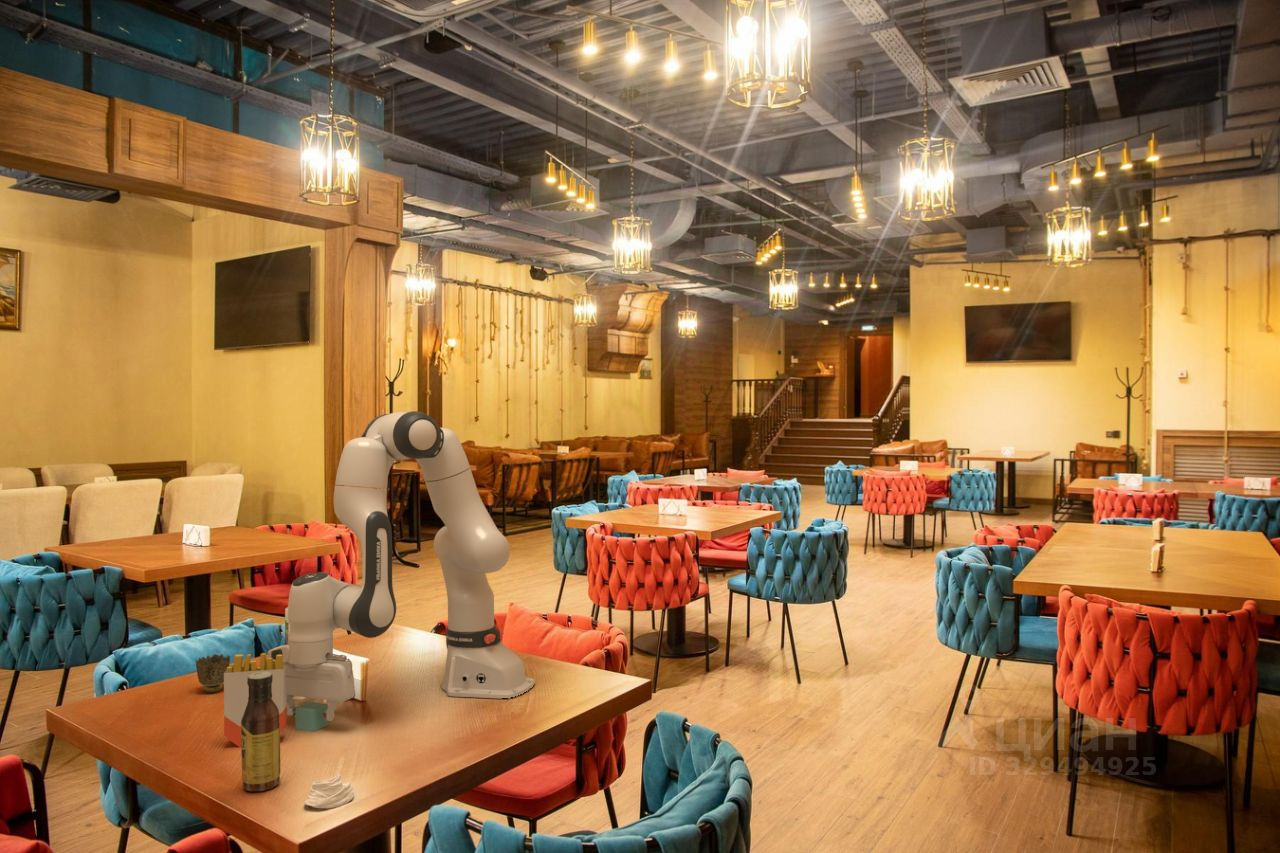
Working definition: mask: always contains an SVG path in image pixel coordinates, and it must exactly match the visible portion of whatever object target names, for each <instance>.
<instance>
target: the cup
mask: <svg viewBox="0 0 1280 853" xmlns="http://www.w3.org/2000/svg"><path fill="white" fill-rule="evenodd" d="M230 662H231V655H230V654H228V655H226V656H225V657H224V654H222V653H221V654H220V655H219V654H216V653H215V654H213V655H211V656H210V655H207V656H206V657H205V656H202V657H199V658H198V659H197V658H196V660H195V667H196V674H197V680H198V683H200V685H202V686H204V692H205V693H207V694H214V693H217V692H218V693H219V692H220V691H221V690H222V688H223V686H222V685H223V684H224V672H225V671H226V670H227V667H230V664H231V663H230Z"/></svg>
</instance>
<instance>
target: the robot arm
mask: <svg viewBox="0 0 1280 853" xmlns="http://www.w3.org/2000/svg"><path fill="white" fill-rule="evenodd" d="M410 459H413V460H415V461H416V462H417V463H418V465H419V468H420V469H421V472H422V476H423V479H424V482H425V486H426V488H427V493H428V495H429V498H430V501H431V502H430V503H431V504H432V508H433V510H434V512H435V514H436V515H437V516H438V518H440V519H441V521H442V522H443V524H444V526H442V527H441V528H440V529H439V530H438V531H437V533H436V534H435V536H434V538H433V549H434V552H435V555H436V556H437V558H438V560H439V563H440V566H441V570H442V575H443V580H444V584H445V589H446V596H447V597H446V599H447V627H446V629H445V630H446V631H445V639H446V640H445V644H446V649H447V652H446V660H445V661H446V662H445V669H444V673H443V674H444V675H443V678H442V681H441V682H442V683H441V685H440V687H441V689H442V690H444V691H445V692H446V695H447V696H448V697H456V698H457V697H459V698H460V697H461V698H481V699H482V698H484V699H502V698H508V699H512V698H511V697H513V698H516V697H519V696H521V695H520V694H522V695H523V693H524V692H526V691H527V692H529V691H530V690H531V689H530V688H532V687H533V685H534V683H536V682H535V679H534V678H532V677H528V676H526V670H525V664H524V661H523V659H522V657H520V656H519V655H517V654H516V653H515V652H514V651H512V650H511V649H510V648H508V646H507V645H506V644H504V643H503V642H502V639H501V636H502V635H504V634H505V633H504V632H505V629H501V630H498V629H497V627H496V625H495V594H494V591H493V589H492V587H491V586H490V584H489V580H488V578H487V574H491V573H496V572H498V571H500V570H502V569H503V567H505V566H506V565H507V563H508V561H509V558H510V555H511V554H510V553H511V547H510V546H511V545H510V543H509V541H508V539H507V538H506V536H504V534H502V533H501V531H500V530H499V529H498V527H497V526H496V523H495V521H494V520H493V518H492V517H491V515H490V513H489V512H488V510H487V507H486V506H485V504H484V502H483V501H482V500H483V499H482V498H481V495H480V494H479V490H478V488H477V484H476V481H475V478H474V476H473V475H474V474H473V473H472V469H471V466H470V463H469V460H468V457H467V454H466V452H465V449H464V447H463V445H462V443H461V442H460V440H459V437H458V436H457V434H456V433H455V431H454V430H452V429H450V428H447V427H440V426H439V424H438V423H437V422H436V421H435V419H434V418H433V417H431V416H430V415H428V414H426V413H425V412H422V411H417V410H416V411H404V410H403V411H401V410H400V411H395V412H391V413H384V414H381V415H378V416H377V417H374V419H372V420H371V421H370V422H369V423H368V424H367V426H366V427H365V430H364V432H363V434H362V435H361V436H360V437H356V438H353V439H350V440H348V441H347V442H346V443H345V445H344V447H343V450H342V452H341V455H340V459H339V462H338V466H337V472H336V477H335V482H334V491H333V509H334V514H335V516H336V517H337V519H338V520H339V522H340V523H342V524H343V525H344V526H345V527H346V528H348V529H349V530H350V531H351V532H352V533H353V534H354V535H355V537H356V538H357V539H358V540H359V543H360V545H361V549H362V550H361V552H362V557H361V559H362V560H361V561H362V562H361V563H362V567H361V568H362V571H361V572H362V573H361V576H362V577H361V578H362V579H361V580H362V581H361V586H360V585H358V584H353V583H349V582H345V581H341V580H339V579H337V578H334V577H332V576H331V575H329V573H328V572H323V571H317V572H310V573H306V574H302V575H300V576H299V577H297V578H296V579H294V580H293V581H292V584H291V585H290V589H289V593H288V594H289V596H288V605H287V607H288V620H289V623H290V633H289V636H288V643H287V644H285V643H284V644H282V645H280V646H277V647H273V648H271V649H269V650H268V651H267V657H268V658H273V660H275V664H276V656H277V655H283V667H285V682H286V703H287V715H289V717H296V716H295V715H296V708H298V706H297V705H295V702H294V700H293V697H294V696H300V697H307V698H315V699H322V700H323V701H326V704H327V705H328V709H327V711H325V712H323V720H325V721H328V722H331V721H333V720H334V719H335V711H336V709H337V707H338V706H339V703H343V702H346V701H348V700H351V699H352V698H353V696H354V695H355V693H356V689H355V688H356V686H355V678H354V677H355V676H354V671H353V662H352V661H351V659H349V658H348V656H347V655H344V654H336V653H334V631H335V630H336V629H342V630H345V631H349V632H352V633H353V632H354V633H355V634H358V635H360V636H362V637H364V638H369V639H373V638H377V637H379V636H382V635H383V634H384V633H386V632H387V631H388V630H389V629H390V627H391V626H392V624H393V623H394V621H395V618H396V615H397V602H396V598H395V593H394V587H393V531H392V524H391V521H390V519H389V516H388V509H387V495H388V494H387V493H388V480H389V479H388V478H389V473H390V470H391V468H392V466H393V464H394V463H395V462H396V461H405V460H410ZM268 658H267V659H268ZM534 686H535V685H534ZM533 688H534V687H533ZM529 689H530V690H529ZM528 690H529V691H528ZM527 692H526V693H527ZM524 694H525V693H524ZM518 695H519V696H518ZM515 696H516V697H515Z"/></svg>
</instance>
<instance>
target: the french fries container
mask: <svg viewBox="0 0 1280 853" xmlns="http://www.w3.org/2000/svg"><path fill="white" fill-rule="evenodd" d="M251 656H252V654H248V653H247V654H246V657H245V659H244V654H235V655H234V658H233V663H232V664H231V663H230V665H229V667H227V670H226V671H225V672H224V683H223V718H224V719H223V726H224V727H223V729H224V730H223V736H224V737H225V738H227V739H228V740H229V741H231V742H232V743H233V744H234V745H235V746H237V747H238V748H241V720H242V717H243V715H244V712H245V709H246V706H247V703H248V697H249V686H248V684H247V680H248V676H249V675H250V674H253V673H256V672H264V671H265V672H271V673H272V676H273V678H272V679H273V680H272V698H271V699H272V700H273V702H274V703H275V704H276V706H277V708H278V710H279V723H280V735H281V734H282V733H283V732H284V730H285V728H286V727H287V724H288V720H287V719H288V718H287V703H286V682H285V667H283V655H277V656H276V664H275V660H273V658H267V653H266V652H265V653H264V652H262V653H260V657H259V666H258V667H257V661H256V660H251Z"/></svg>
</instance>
